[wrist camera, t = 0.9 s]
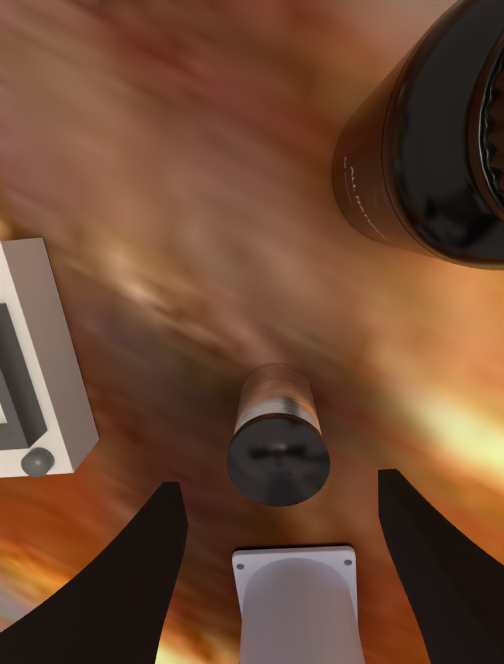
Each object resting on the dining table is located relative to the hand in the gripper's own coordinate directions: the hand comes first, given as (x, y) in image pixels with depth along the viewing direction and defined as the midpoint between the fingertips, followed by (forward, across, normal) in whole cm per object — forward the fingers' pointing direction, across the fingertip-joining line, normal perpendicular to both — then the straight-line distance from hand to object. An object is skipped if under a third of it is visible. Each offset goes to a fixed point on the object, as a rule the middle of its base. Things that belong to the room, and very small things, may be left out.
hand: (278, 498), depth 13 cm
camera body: (+8, +15, -4) cm, 17 cm away
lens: (+8, 0, 0) cm, 8 cm away
